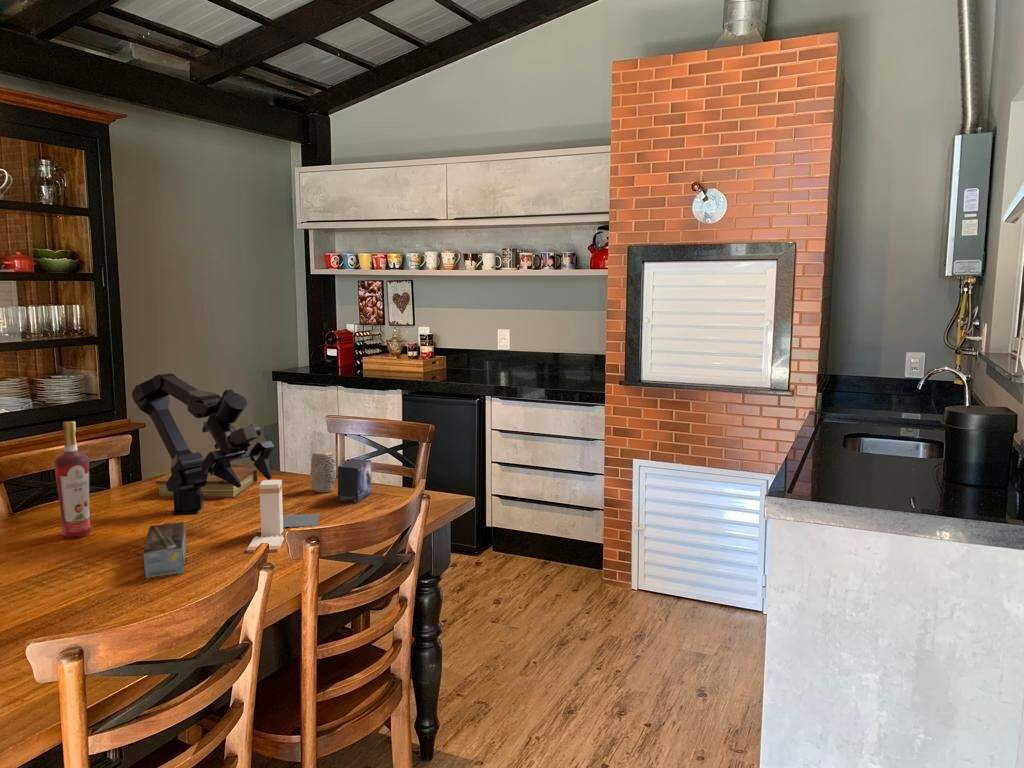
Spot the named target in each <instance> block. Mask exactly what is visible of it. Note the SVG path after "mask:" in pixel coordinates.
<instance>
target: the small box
mask: <svg viewBox="0 0 1024 768" xmlns="http://www.w3.org/2000/svg"><path fill="white" fill-rule="evenodd" d="M370 495H372V459H371V460H370V459H360V458H350V459H349V460H347V461H345V462H344V463H341V464H340V465H338V466H337V502H338V501H339V503H348V502H355V503H354V504H358V503H360V502H362V501H363V500H365V499H366V498H368V497H369V496H370ZM359 501H360V502H359ZM357 502H358V503H357Z"/></svg>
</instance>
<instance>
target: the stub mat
mask: <svg viewBox="0 0 1024 768" xmlns="http://www.w3.org/2000/svg"><path fill="white" fill-rule="evenodd" d="M319 517H320V518H321V513H309V514H307V513H306V514H303V513H302V514H283V529H287V528H286V527H289V528H288V529H294V528H293V527H302V528H305V527H304V526H316V525H318V522H319V520H320V518H319ZM318 519H319V520H318ZM293 525H295V526H293ZM316 527H317V526H316Z"/></svg>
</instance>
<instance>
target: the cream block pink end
mask: <svg viewBox="0 0 1024 768" xmlns="http://www.w3.org/2000/svg"><path fill="white" fill-rule="evenodd" d="M283 535H284V534H281V535H276V536H261V535H257V536H256V535H255V536H254V537H253V539H252V540H251V542H250V544H249V545H248V547H246V549H245V554H254V553H253V552H254V550H255V549H256V548H257V547H258V546H259V545H260V544H261V543H268V544H269V552H268V553H277V552H279V550H280V548H281V546H282V544H283V542H284V540H285V538H284V537H283Z"/></svg>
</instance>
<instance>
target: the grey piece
mask: <svg viewBox="0 0 1024 768" xmlns="http://www.w3.org/2000/svg"><path fill="white" fill-rule="evenodd" d="M143 549H144V550H143V553H142V557H143V562H142V564H143V573H144V576H145V579H148V578H147V577H153V576H161V577H163V576H162V575H169V576H173V575H172V574H177V575H182V574H181V573H183V574H184V572H185V562H186V556H187V555H186V554H187V535H186V525H185V521H180V522H174V523H173V522H171V523H163V524H155V525H154V524H153V525H149V528H148V531H147V534H146V539H145V545H144V548H143ZM153 578H154V577H153Z"/></svg>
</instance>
